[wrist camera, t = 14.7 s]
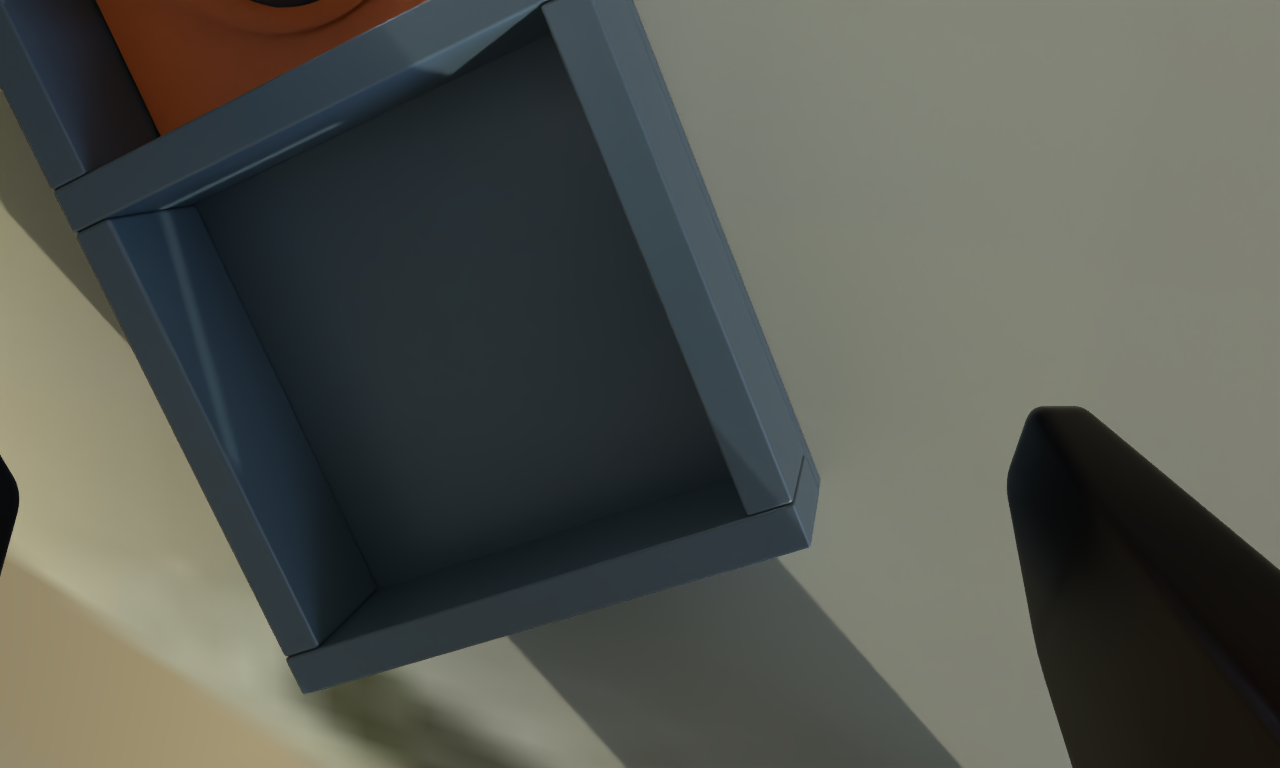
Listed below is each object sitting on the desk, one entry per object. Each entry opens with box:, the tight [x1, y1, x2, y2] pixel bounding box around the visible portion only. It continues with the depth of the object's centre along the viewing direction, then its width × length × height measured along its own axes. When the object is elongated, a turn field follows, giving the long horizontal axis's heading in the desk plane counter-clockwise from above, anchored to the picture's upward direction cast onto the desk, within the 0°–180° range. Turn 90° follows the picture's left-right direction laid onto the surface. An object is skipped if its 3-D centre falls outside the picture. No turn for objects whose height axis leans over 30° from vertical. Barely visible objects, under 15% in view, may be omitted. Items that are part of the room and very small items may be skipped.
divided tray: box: [0, 0, 820, 694], centre depth 18 cm, size 19×10×3 cm, turn 23°
